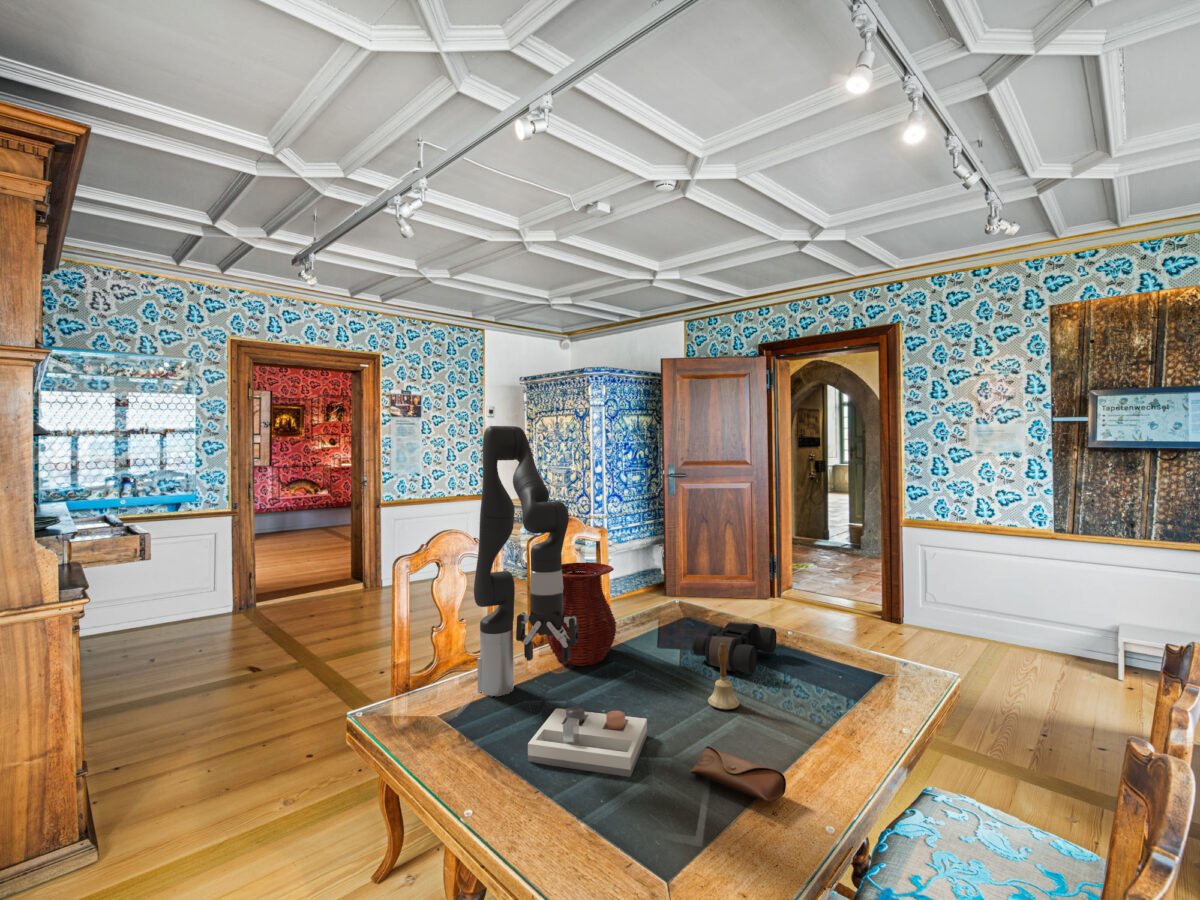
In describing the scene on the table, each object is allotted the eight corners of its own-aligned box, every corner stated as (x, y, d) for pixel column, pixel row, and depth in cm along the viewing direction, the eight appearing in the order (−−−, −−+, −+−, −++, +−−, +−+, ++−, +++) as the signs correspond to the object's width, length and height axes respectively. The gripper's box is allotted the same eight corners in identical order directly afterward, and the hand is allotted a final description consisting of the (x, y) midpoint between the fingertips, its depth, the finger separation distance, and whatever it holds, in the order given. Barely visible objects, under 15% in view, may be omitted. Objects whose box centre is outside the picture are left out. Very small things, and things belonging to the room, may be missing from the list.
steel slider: (563, 751, 125) (562, 725, 125) (569, 742, 129) (568, 717, 129) (573, 752, 124) (573, 727, 124) (579, 743, 128) (578, 718, 128)
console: (527, 762, 124) (527, 743, 124) (556, 724, 142) (556, 708, 142) (630, 777, 118) (630, 757, 118) (647, 735, 135) (646, 718, 135)
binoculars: (749, 681, 167) (749, 647, 168) (685, 667, 179) (685, 635, 179) (777, 652, 192) (776, 622, 192) (719, 642, 203) (719, 614, 203)
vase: (575, 643, 202) (574, 559, 203) (630, 656, 189) (629, 566, 189) (530, 663, 183) (529, 570, 184) (588, 679, 170) (587, 579, 170)
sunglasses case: (685, 770, 117) (695, 737, 120) (698, 781, 121) (707, 748, 125) (770, 802, 106) (778, 765, 109) (781, 813, 110) (789, 776, 113)
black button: (563, 724, 134) (563, 713, 134) (569, 715, 138) (569, 705, 138) (581, 726, 133) (581, 715, 133) (586, 717, 137) (586, 707, 137)
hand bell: (740, 710, 148) (739, 649, 148) (707, 708, 150) (706, 647, 150) (738, 697, 156) (738, 639, 156) (708, 695, 158) (707, 637, 158)
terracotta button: (604, 729, 131) (604, 717, 131) (609, 720, 135) (609, 709, 136) (622, 731, 130) (622, 720, 130) (627, 722, 134) (627, 711, 134)
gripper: (510, 591, 127) (511, 664, 127) (571, 595, 123) (572, 670, 123) (523, 584, 134) (524, 653, 134) (581, 587, 131) (582, 658, 130)
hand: (547, 661), depth 129 cm, fingers open, 8 cm apart
